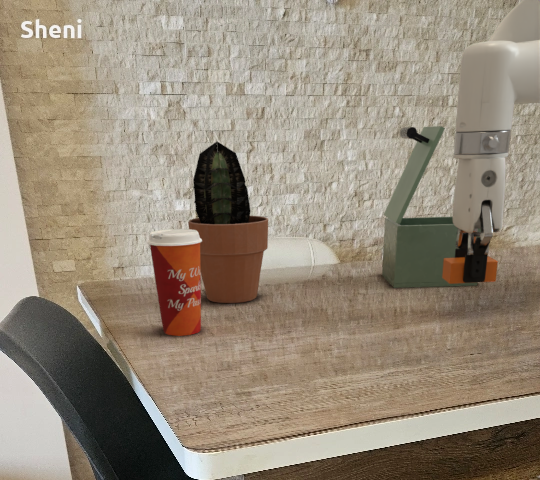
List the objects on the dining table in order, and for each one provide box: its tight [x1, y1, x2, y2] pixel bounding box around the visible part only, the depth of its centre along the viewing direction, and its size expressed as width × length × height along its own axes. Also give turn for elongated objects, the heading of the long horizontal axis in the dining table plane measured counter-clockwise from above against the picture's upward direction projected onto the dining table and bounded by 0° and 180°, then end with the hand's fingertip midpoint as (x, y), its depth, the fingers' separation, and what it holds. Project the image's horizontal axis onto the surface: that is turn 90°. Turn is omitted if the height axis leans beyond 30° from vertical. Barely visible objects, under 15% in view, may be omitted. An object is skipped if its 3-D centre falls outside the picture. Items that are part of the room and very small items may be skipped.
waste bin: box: [381, 215, 481, 289], centre depth 126 cm, size 16×13×11 cm
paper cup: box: [146, 228, 202, 337], centre depth 96 cm, size 8×8×14 cm
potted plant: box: [187, 141, 269, 304], centre depth 113 cm, size 14×14×25 cm
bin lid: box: [383, 125, 446, 224], centre depth 120 cm, size 16×13×5 cm
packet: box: [442, 255, 499, 284], centre depth 102 cm, size 7×4×3 cm, turn 91°
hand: (468, 277), depth 102 cm, fingers closed on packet, 4 cm apart
